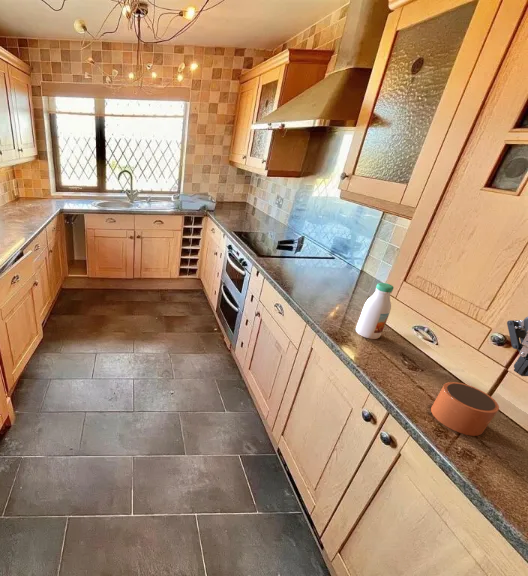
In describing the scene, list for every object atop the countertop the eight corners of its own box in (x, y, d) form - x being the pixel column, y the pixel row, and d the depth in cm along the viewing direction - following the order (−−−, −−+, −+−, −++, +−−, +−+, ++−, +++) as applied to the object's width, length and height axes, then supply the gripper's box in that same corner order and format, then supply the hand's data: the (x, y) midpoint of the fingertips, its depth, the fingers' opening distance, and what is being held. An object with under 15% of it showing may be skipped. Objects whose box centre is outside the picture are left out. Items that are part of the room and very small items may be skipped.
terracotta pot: (482, 418, 80) (498, 395, 76) (483, 443, 73) (500, 419, 70) (432, 398, 86) (444, 376, 82) (429, 419, 80) (442, 397, 76)
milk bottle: (362, 339, 110) (381, 290, 102) (350, 327, 117) (367, 280, 108) (385, 339, 110) (405, 290, 101) (371, 327, 117) (389, 280, 108)
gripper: (647, 320, 50) (580, 398, 57) (552, 284, 61) (508, 353, 69) (598, 320, 50) (538, 398, 58) (513, 284, 62) (473, 353, 69)
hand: (521, 373), depth 63 cm, fingers closed
